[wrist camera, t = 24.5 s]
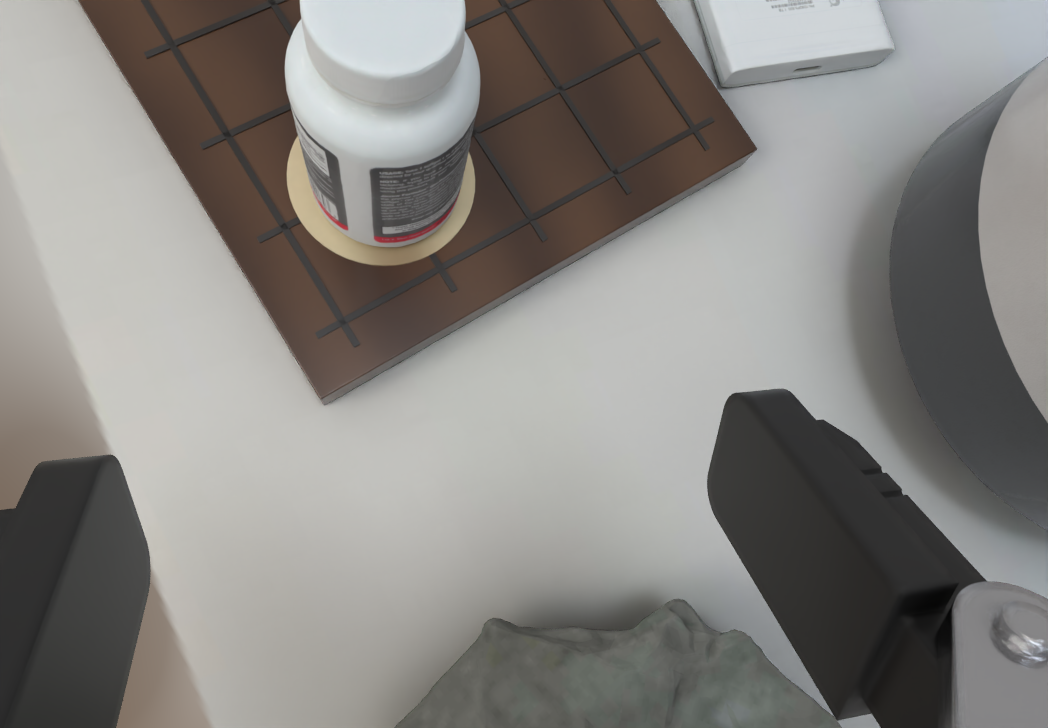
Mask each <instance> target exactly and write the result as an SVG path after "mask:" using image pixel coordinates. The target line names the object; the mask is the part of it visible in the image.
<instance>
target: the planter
mask: <svg viewBox="0 0 1048 728" xmlns="http://www.w3.org/2000/svg"><path fill="white" fill-rule="evenodd" d="M889 275H890V291H891V302H892V308H893V315H894V321H895V326H896V330H897V334H898V338H899V342H900V346H901V349H902V352H903V355H904V358H905V361H906V364H907V367H908V370H909V372H910V375H911V377H912V379H913V382H914V384H915V386H916V388H917V391H918V393H919V395H920V397H921V399H922V401H923V403H924V404H925V406H926V408H927V410H928V412H929V414H930V416H931V417H932V419H933V421H934V422H935V424H936V425H937V427H938V428H939V430H940V431H941V433H942V435H943V436H944V438H945V439H946V441H947V442H948V443H949V444H950V446H951V447H952V448H953V450H954V451H955V452H956V453H957V455H958V456H959V457H960V459H961V460H962V461H963V462H964V463H965V464H966V465H967V467H968V468H969V469H970V470H971V471H972V472H973V473H974V474H975V475H976V476H977V477H978V479H979V480H980V481H982V482H983V483H984V484H985V485H986V486H987V487H988V488H989V489H990V490H991V491H992V492H994V493H995V494H996V495H997V496H998V497H999V498H1000V499H1002V500H1003V501H1004V502H1006V503H1007V504H1008V505H1009V506H1011V507H1012V508H1013V509H1015V510H1016V511H1017V512H1018V513H1020V514H1022V515H1023V516H1025V517H1026V518H1028V519H1030V520H1031V521H1033V522H1034V523H1036V524H1037V525H1039V526H1041V527H1043V528H1045V529H1047V530H1048V57H1047V58H1045V59H1044V60H1043V61H1041V62H1040V63H1038V64H1037V65H1035V66H1034V67H1033V68H1031V69H1030V70H1028V71H1027V72H1025V73H1024V74H1023V75H1021V76H1020V77H1018V78H1017V79H1015V80H1014V81H1013V82H1011V83H1010V84H1008V85H1007V86H1005V87H1004V88H1003V89H1001V90H1000V91H998V92H997V93H995V94H994V95H993V96H991V97H990V98H988V99H987V100H985V101H984V102H983V103H981V104H980V105H978V106H977V107H975V108H974V109H973V110H971V111H970V112H968V113H967V114H965V115H964V116H963V117H961V118H960V119H959V120H957V121H956V122H955V123H953V124H952V125H951V126H950V127H949V128H948V129H947V130H946V131H945V132H943V133H942V134H941V135H940V136H939V137H938V138H937V139H936V141H935V142H934V143H933V144H932V146H931V147H930V148H929V149H928V151H927V152H926V153H925V154H924V156H923V157H922V159H921V160H920V162H919V164H918V165H917V167H916V168H915V170H914V171H913V173H912V175H911V178H910V180H909V182H908V184H907V186H906V188H905V190H904V193H903V196H902V199H901V202H900V204H899V207H898V211H897V215H896V219H895V224H894V228H893V234H892V242H891V249H890V274H889Z"/></svg>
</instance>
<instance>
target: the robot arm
mask: <svg viewBox="0 0 1048 728" xmlns="http://www.w3.org/2000/svg"><path fill="white" fill-rule="evenodd" d="M881 468H882V467H881V466H880V465H879V464H878V463H877V462H876V461H875V460H874V459H873V458H872V456H871V455H870V454H869V453H868V452H867V451H866V450H865V449H864V448H863V447H862V446H861V445H860V443H859V442H858V441H856V440H855V439H853V438H852V437H850V436H848V435H847V434H845V433H844V432H842V431H840V430H839V429H837V428H836V427H834V426H833V425H831V424H829V423H828V422H826V421H825V420H815V419H814V417H813V416H812V415H811V414H810V413H809V412H808V411H807V409H806V408H805V407H804V406H803V405H802V404H801V403H800V402H799V400H798V399H797V398H796V397H795V396H794V395H793V394H792V393H791V392H790V391H788V390H786V389H771V390H762V391H752V392H742V393H734V394H732V395H731V396H729V398H728V399H727V401H726V403H725V406H724V410H723V414H722V418H721V422H720V426H719V430H718V435H717V439H716V443H715V447H714V451H713V455H712V459H711V463H710V468H709V472H708V479H707V488H708V496H709V501H710V505H711V508H712V511H713V513H714V515H715V517H716V519H717V521H718V522H719V524H720V526H721V527H722V529H723V531H724V532H725V534H726V536H727V537H728V539H729V541H730V542H731V544H732V546H733V547H734V549H735V551H736V552H737V554H738V556H739V558H740V559H741V561H742V563H743V564H744V566H745V568H746V569H747V571H748V573H749V574H750V576H751V578H752V579H753V581H754V583H755V584H756V586H757V588H758V589H759V591H760V593H761V594H762V596H763V598H764V599H765V601H766V603H767V604H768V606H769V608H770V609H771V611H772V613H773V614H774V616H775V618H776V619H777V621H778V623H779V624H780V626H781V628H782V629H783V631H784V633H785V634H786V636H787V638H788V639H789V641H790V643H791V644H792V646H793V648H794V649H795V651H796V653H797V654H798V656H799V658H800V659H801V661H802V663H803V664H804V666H805V668H806V669H807V671H808V673H809V674H810V676H811V678H812V679H813V681H814V683H815V684H816V686H817V688H818V689H819V691H820V693H821V694H822V696H823V698H824V700H825V701H826V703H827V705H828V706H829V708H830V710H831V711H832V713H833V715H834V716H835V718H836V720H842V719H847V718H852V717H856V716H861V715H866V714H871V713H872V714H873V716H874V718H875V719H876V721H877V722H878V724H879V725H880V727H881V728H1048V599H1046V598H1045V597H1043V596H1041V595H1039V594H1037V593H1034V592H1032V591H1030V590H1027V589H1025V588H1022V587H1019V586H1015V585H1012V584H1008V583H1001V582H987V581H986V580H985V579H984V578H983V577H982V576H981V575H980V573H979V572H978V571H977V570H976V569H975V568H974V567H973V566H972V565H971V564H970V563H969V562H968V560H967V559H966V558H965V557H964V556H963V555H962V554H961V553H960V552H959V551H958V550H957V549H956V547H955V546H954V545H953V544H952V543H951V542H950V541H949V540H948V539H947V538H946V537H945V536H944V534H943V533H942V532H941V531H940V530H939V529H938V528H937V527H936V526H935V525H934V524H933V523H932V521H931V520H930V519H929V518H928V517H927V516H926V515H925V514H924V513H923V512H922V511H921V510H920V508H919V507H918V506H917V505H916V504H915V503H914V502H913V501H912V500H911V499H910V498H909V497H908V495H904V496H903V494H902V489H901V488H900V487H899V486H898V485H897V484H896V482H895V481H894V480H893V479H892V478H891V477H890V476H889V475H888V474H887V473H882V470H881ZM149 586H150V556H149V549H148V545H147V541H146V538H145V535H144V532H143V529H142V526H141V523H140V520H139V517H138V514H137V511H136V508H135V505H134V502H133V500H132V497H131V494H130V491H129V488H128V485H127V482H126V479H125V476H124V473H123V470H122V467H121V465H120V463H119V461H118V460H117V458H116V457H115V456H113V455H103V456H92V457H82V458H73V459H62V460H52V461H44V462H41V463H39V464H38V465H37V466H36V468H35V469H34V471H33V473H32V475H31V477H30V479H29V481H28V483H27V485H26V488H25V489H24V492H23V494H22V496H21V498H20V500H19V502H18V504H17V506H16V508H15V509H6V510H0V728H116V726H117V721H118V717H119V713H120V709H121V705H122V701H123V697H124V692H125V688H126V684H127V680H128V676H129V672H130V668H131V664H132V659H133V655H134V651H135V647H136V643H137V638H138V634H139V630H140V626H141V622H142V618H143V613H144V610H145V605H146V601H147V596H148V592H149Z"/></svg>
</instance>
